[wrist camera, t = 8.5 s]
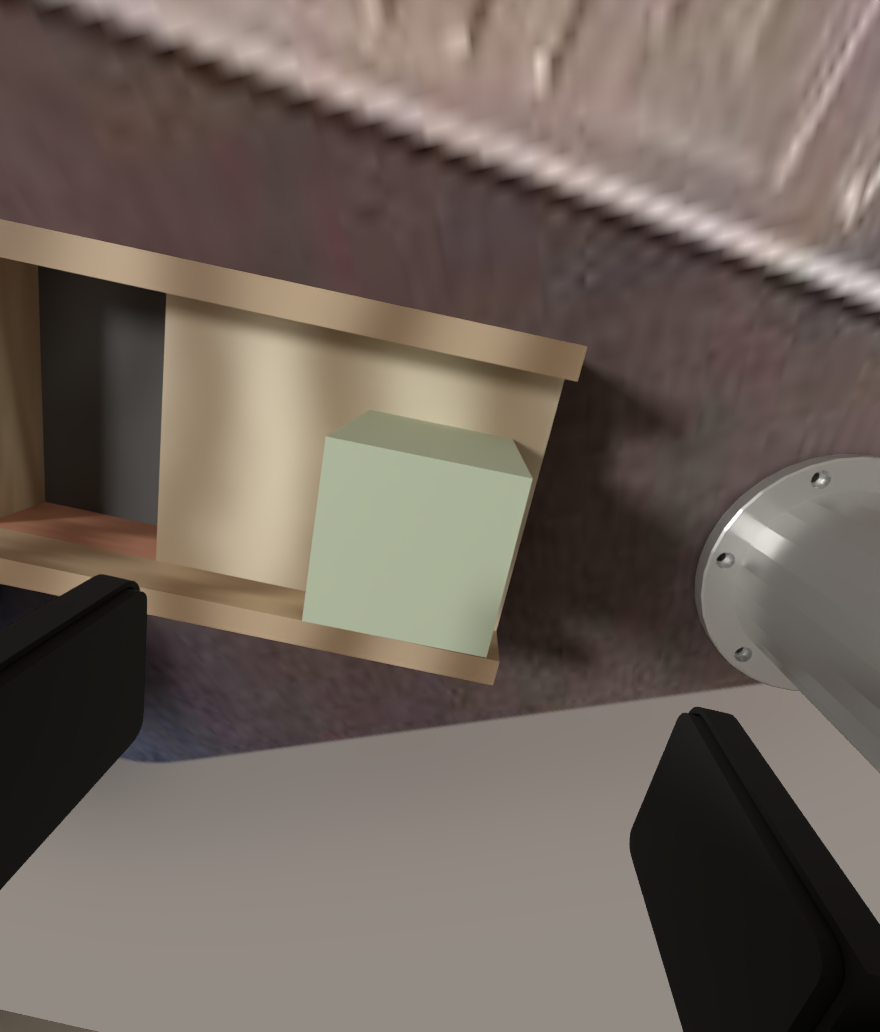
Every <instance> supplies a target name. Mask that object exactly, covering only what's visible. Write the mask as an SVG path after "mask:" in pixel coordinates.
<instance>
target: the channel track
mask: <svg viewBox="0 0 880 1032" xmlns="http://www.w3.org/2000/svg"><path fill="white" fill-rule="evenodd" d="M586 350H587V346H582V345H578V344H573V343H569V342H564V341H559V340H555V339H550V338H546V337H541V336H536V335H532V334H527V333H523V332H518V331H513V330H509V329H504V328H500V327H495V326H490V325H486V324H481V323H477V322H472V321H467V320H463V319H458V318H453V317H449V316H444V315H440V314H435V313H430V312H426V311H421V310H417V309H412V308H407V307H403V306H398V305H394V304H389V303H384V302H380V301H375V300H371V299H366V298H361V297H357V296H352V295H348V294H343V293H338V292H334V291H329V290H325V289H320V288H315V287H311V286H306V285H301V284H297V283H292V282H288V281H283V280H278V279H274V278H269V277H265V276H260V275H255V274H251V273H246V272H242V271H237V270H232V269H228V268H223V267H219V266H214V265H209V264H205V263H200V262H196V261H191V260H186V259H182V258H177V257H173V256H168V255H163V254H159V253H154V252H149V251H145V250H140V249H136V248H131V247H126V246H122V245H117V244H113V243H108V242H103V241H99V240H94V239H90V238H85V237H80V236H76V235H71V234H67V233H62V232H57V231H53V230H48V229H44V228H39V227H34V226H30V225H25V224H21V223H16V222H11V221H7V220H2V219H0V584H4V585H9V586H14V587H18V588H23V589H28V590H33V591H38V592H43V593H47V594H52V595H57V596H61V595H62V594H64V593H66V592H68V591H69V590H71V589H73V588H75V587H76V586H78V585H80V584H82V583H83V582H85V581H87V580H89V579H90V578H92V577H94V576H96V575H99V574H105V575H109V576H114V577H118V578H123V579H127V580H132V581H135V582H136V583H138V585H139V587H140V591H142V592H144V593H145V594H146V596H147V614H149V615H154V616H159V617H164V618H169V619H174V620H178V621H183V622H188V623H193V624H198V625H203V626H207V627H212V628H217V629H222V630H227V631H232V632H237V633H241V634H246V635H251V636H256V637H261V638H266V639H270V640H275V641H280V642H285V643H290V644H295V645H300V646H304V647H309V648H314V649H319V650H324V651H329V652H334V653H338V654H343V655H348V656H353V657H358V658H363V659H367V660H372V661H377V662H382V663H387V664H392V665H397V666H401V667H406V668H411V669H416V670H421V671H426V672H430V673H435V674H440V675H445V676H450V677H455V678H460V679H464V680H469V681H474V682H479V683H484V684H489V685H493V683H494V680H495V676H496V673H497V669H498V665H499V662H500V661H499V651H498V642H497V632H496V631H497V627H498V623H499V619H500V616H501V612H502V608H503V605H504V601H505V597H506V594H507V590H508V586H509V583H510V579H511V575H512V572H513V568H514V564H515V560H516V557H517V553H518V549H519V546H520V542H521V538H522V535H523V531H524V527H525V524H526V520H527V516H528V513H529V509H530V505H531V501H532V498H533V494H534V490H535V487H536V483H537V479H538V476H539V472H540V468H541V465H542V461H543V457H544V454H545V450H546V446H547V442H548V439H549V435H550V431H551V428H552V424H553V420H554V417H555V413H556V409H557V406H558V402H559V398H560V395H561V391H562V387H563V383H564V380H565V379H567V380H572V381H576V382H578V379H579V375H580V372H581V368H582V365H583V361H584V357H585V354H586ZM368 410H374V411H379V412H384V413H389V414H394V415H399V416H404V417H408V418H413V419H418V420H423V421H428V422H433V423H438V424H443V425H448V426H452V427H457V428H462V429H467V430H472V431H477V432H482V433H487V434H492V435H496V436H501V437H506V438H511V439H513V441H514V443H515V445H516V447H517V449H518V451H519V453H520V455H521V457H522V459H523V461H524V462H525V464H526V466H527V468H528V470H529V472H530V474H531V476H532V478H533V480H532V483H531V487H530V491H529V495H528V499H527V503H526V507H525V511H524V514H523V518H522V522H521V526H520V530H519V534H518V538H517V541H516V545H515V549H514V553H513V557H512V561H511V565H510V569H509V572H508V576H507V580H506V584H505V588H504V592H503V596H502V599H501V603H500V607H499V611H498V615H497V619H496V623H495V627H494V630H493V634H492V638H491V642H490V646H489V650H488V654H487V657H480V656H475V655H470V654H465V653H460V652H455V651H450V650H445V649H440V648H435V647H430V646H425V645H420V644H415V643H410V642H405V641H400V640H395V639H390V638H385V637H380V636H375V635H370V634H365V633H360V632H355V631H350V630H345V629H340V628H335V627H330V626H325V625H320V624H315V623H310V622H305V621H302V616H303V608H304V600H305V593H306V585H307V577H308V569H309V562H310V554H311V546H312V538H313V530H314V523H315V515H316V507H317V499H318V491H319V484H320V476H321V468H322V460H323V453H324V445H325V437H326V436H327V435H329V434H330V433H332V432H334V431H335V430H337V429H338V428H340V427H342V426H343V425H345V424H347V423H348V422H350V421H351V420H353V419H355V418H356V417H358V416H360V415H361V414H363V413H364V412H366V411H368Z"/></svg>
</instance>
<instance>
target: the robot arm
mask: <svg viewBox="0 0 880 1032" xmlns="http://www.w3.org/2000/svg"><path fill="white" fill-rule="evenodd" d="M720 554H721V556H720V557H718V556H719V555H720ZM695 602H696V607H697V612H698V616H699V620H700V622H701V624H702V626H703V628H704V630H705V632H706V635H707V636H708V638H709V639H710V640H711V642H712V643H713V644H714V645H715V647H716V648H717V649H718V651H719V652H720V653H721V654H722V655H723V656H724V657H725V659H726V660H727V661H728V662H729V663H730V664H731V665H732V666H734V667H735V668H737V669H738V670H740V671H741V672H743V673H744V674H746V675H747V676H749V677H750V678H752V679H755V680H757V681H760V682H762V683H765V684H767V685H770V686H773V687H778V688H783V689H788V690H793V691H801V693H802V694H803V695H805V697H806V698H807V699H808V700H809V701H810V702H811V703H812V704H813V705H814V706H815V707H816V708H817V709H818V710H819V711H820V712H821V713H822V714H823V715H824V716H825V717H826V718H827V719H828V720H829V721H830V722H831V723H832V724H833V725H834V727H835V728H836V729H837V730H838V731H839V732H840V733H841V734H842V735H844V737H845V738H846V739H847V740H848V741H849V742H850V743H851V744H852V745H853V746H854V747H855V748H856V749H857V750H858V751H859V752H860V753H861V754H862V755H863V756H864V757H865V758H866V759H867V760H868V761H869V763H870V764H871V765H872V766H873V767H874V768H875V769H876V770H877V771H878V772H879V773H880V457H877V456H872V455H868V454H835V455H829V456H822V457H816V458H812V459H809V460H806V461H803V462H800V463H797V464H794V465H791V466H788V467H786V468H784V469H782V470H780V471H778V472H776V473H774V474H772V475H770V476H769V477H767V478H765V479H763V480H762V481H760V482H759V483H758V484H756V485H755V486H753V487H752V488H751V489H749V490H748V491H747V492H745V493H744V494H743V495H741V496H740V498H739V499H738V500H737V501H736V502H735V503H734V504H733V505H732V506H731V507H730V508H729V509H728V510H727V511H726V512H725V513H724V514H723V516H722V517H721V518H720V520H719V521H718V523H717V524H716V526H715V527H714V529H713V530H712V532H711V533H710V535H709V537H708V539H707V541H706V544H705V546H704V548H703V550H702V553H701V555H700V558H699V562H698V567H697V571H696V576H695ZM146 627H147V596H146V594H145V593H144V592H142V591H140V587H139V585H138V583H136V582H135V581H132V580H127V579H123V578H118V577H114V576H109V575H105V574H99V575H96V576H94V577H92V578H90V579H89V580H87V581H85V582H83V583H82V584H80V585H78V586H76V587H75V588H73V589H71V590H69V591H68V592H66V593H64V594H62V595H61V596H59V597H57V598H55V599H54V600H52V601H50V602H48V603H47V604H45V605H43V606H42V607H40V608H38V609H36V610H35V611H33V612H31V613H29V614H28V615H26V616H24V617H22V618H21V619H19V620H17V621H15V622H14V623H12V624H10V625H8V626H7V627H5V628H3V629H1V630H0V890H1V888H2V887H3V886H4V885H5V884H6V883H7V882H8V881H9V879H10V878H11V877H12V876H13V875H14V874H15V873H16V872H17V871H18V870H19V868H20V867H21V866H22V865H23V864H24V863H25V862H26V861H27V860H28V858H29V857H30V856H31V855H32V854H33V853H34V852H35V851H36V849H37V848H38V847H39V846H40V845H41V844H42V843H43V842H44V841H45V839H46V838H47V837H48V836H49V835H50V834H51V833H52V832H53V831H54V830H55V828H56V827H57V826H58V825H59V824H60V823H61V822H62V821H63V819H64V818H65V817H66V816H67V815H68V814H69V813H70V812H71V810H72V809H73V808H74V807H75V806H76V805H77V804H78V803H79V802H80V801H81V799H82V798H83V797H84V796H85V795H86V794H87V793H88V792H89V790H90V789H91V788H92V787H93V786H94V785H95V784H96V783H97V782H98V781H99V779H100V778H101V777H102V776H103V775H104V774H105V773H106V772H107V770H108V769H109V768H110V767H111V766H112V765H113V764H114V763H115V762H116V760H117V759H118V758H119V757H120V756H121V755H122V754H123V753H124V752H125V750H126V749H127V748H128V747H129V746H130V745H131V744H132V743H133V741H134V740H135V739H136V737H137V735H138V734H139V731H140V729H141V726H142V723H143V712H144V683H145V655H146ZM630 853H631V857H632V860H633V864H634V867H635V871H636V874H637V877H638V880H639V884H640V887H641V891H642V894H643V897H644V901H645V904H646V908H647V911H648V914H649V918H650V921H651V924H652V928H653V931H654V934H655V938H656V941H657V945H658V948H659V951H660V955H661V958H662V961H663V965H664V968H665V972H666V974H667V978H668V981H669V985H670V988H671V992H672V995H673V998H674V1002H675V1005H676V1009H677V1012H678V1015H679V1019H680V1022H681V1025H682V1029H683V1032H880V924H879V923H878V921H877V920H876V918H875V917H874V916H873V914H872V913H871V911H870V910H869V908H868V907H867V905H866V904H865V903H864V901H863V900H862V899H861V897H860V895H859V894H858V892H857V891H856V890H855V888H854V887H853V885H852V884H851V882H850V881H849V880H848V878H847V877H846V875H845V874H844V872H843V871H842V870H841V868H840V867H839V865H838V864H837V862H836V861H835V859H834V858H833V857H832V855H831V854H830V852H829V851H828V849H827V848H826V847H825V845H824V844H823V842H822V841H821V840H820V838H819V837H818V835H817V834H816V832H815V831H814V830H813V828H812V827H811V825H810V824H809V822H808V821H807V819H806V818H805V817H804V815H803V814H802V812H801V811H800V809H799V808H798V807H797V805H796V804H795V802H794V801H793V799H792V798H791V797H790V795H789V794H788V792H787V791H786V789H785V788H784V787H783V785H782V784H781V782H780V781H779V779H778V778H777V776H776V775H775V774H774V772H773V771H772V769H771V768H770V766H769V765H768V764H767V762H766V761H765V759H764V758H763V756H762V755H761V753H760V752H759V750H758V749H757V748H756V746H755V745H754V743H753V742H752V741H751V739H750V738H749V736H748V735H747V733H746V732H745V730H744V729H743V728H742V726H741V725H740V723H739V722H738V720H737V719H736V718H735V717H734V716H733V715H731V714H728V713H723V712H719V711H715V710H710V709H705V708H701V707H694V708H693V709H691V711H690V712H689V713H682V714H681V715H680V716H679V717H678V719H677V721H676V724H675V726H674V729H673V731H672V733H671V736H670V738H669V740H668V743H667V745H666V748H665V750H664V752H663V755H662V757H661V760H660V762H659V765H658V767H657V769H656V772H655V774H654V776H653V779H652V782H651V784H650V786H649V788H648V791H647V793H646V796H645V798H644V801H643V803H642V805H641V808H640V810H639V812H638V815H637V817H636V820H635V822H634V824H633V827H632V829H631V833H630ZM0 1032H97V1031H92V1030H88V1029H84V1028H79V1027H74V1026H70V1025H66V1024H62V1023H57V1022H53V1021H48V1020H44V1019H39V1018H35V1017H31V1016H26V1015H22V1014H17V1013H13V1012H8V1011H4V1010H0Z"/></svg>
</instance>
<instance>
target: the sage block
mask: <svg viewBox="0 0 880 1032" xmlns="http://www.w3.org/2000/svg"><path fill="white" fill-rule="evenodd" d="M532 480H533V478H532V476H531V474H530V472H529V470H528V468H527V466H526V464H525V462H524V461H523V459H522V457H521V455H520V453H519V451H518V449H517V447H516V445H515V443H514V441H513V439H511V438H506V437H501V436H496V435H492V434H487V433H482V432H477V431H472V430H467V429H462V428H457V427H452V426H448V425H443V424H438V423H433V422H428V421H423V420H418V419H413V418H408V417H404V416H399V415H394V414H389V413H384V412H379V411H374V410H368V411H366V412H364V413H363V414H361V415H360V416H358V417H356V418H355V419H353V420H351V421H350V422H348V423H347V424H345V425H343V426H342V427H340V428H338V429H337V430H335V431H334V432H332V433H330V434H329V435H327V436H326V437H325V445H324V453H323V460H322V468H321V476H320V484H319V491H318V499H317V507H316V515H315V523H314V530H313V538H312V546H311V554H310V562H309V569H308V577H307V585H306V593H305V600H304V608H303V616H302V621H305V622H310V623H315V624H320V625H325V626H330V627H335V628H340V629H345V630H350V631H355V632H360V633H365V634H370V635H375V636H380V637H385V638H390V639H395V640H400V641H405V642H410V643H415V644H420V645H425V646H430V647H435V648H440V649H445V650H450V651H455V652H460V653H465V654H470V655H475V656H480V657H487V654H488V650H489V646H490V642H491V638H492V634H493V630H494V627H495V623H496V619H497V615H498V611H499V607H500V603H501V599H502V596H503V592H504V588H505V584H506V580H507V576H508V572H509V569H510V565H511V561H512V557H513V553H514V549H515V545H516V541H517V538H518V534H519V530H520V526H521V522H522V518H523V514H524V511H525V507H526V503H527V499H528V495H529V491H530V487H531V483H532Z"/></svg>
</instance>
